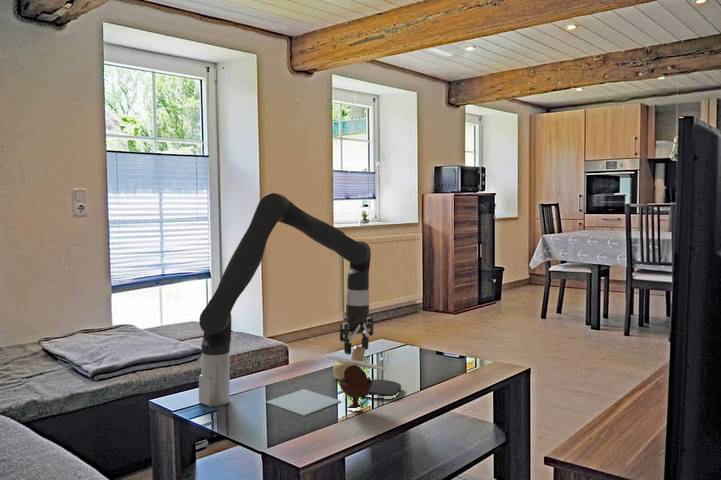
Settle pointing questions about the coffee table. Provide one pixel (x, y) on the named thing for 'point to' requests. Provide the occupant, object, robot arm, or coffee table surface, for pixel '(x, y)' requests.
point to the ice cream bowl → (355, 384)
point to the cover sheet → (354, 362)
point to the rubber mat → (303, 402)
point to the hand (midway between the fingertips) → (356, 351)
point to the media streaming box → (384, 388)
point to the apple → (339, 369)
